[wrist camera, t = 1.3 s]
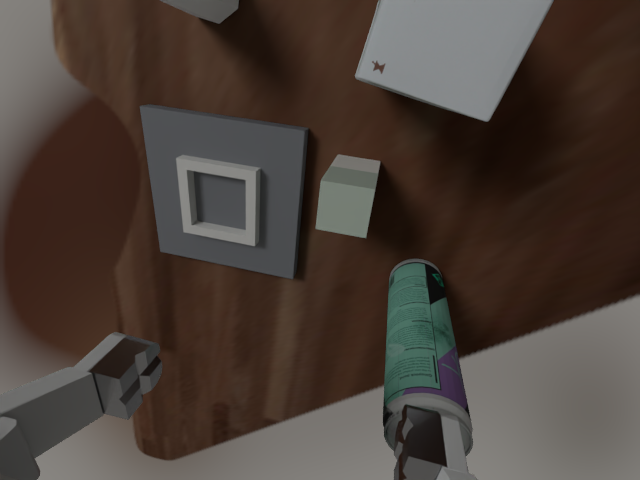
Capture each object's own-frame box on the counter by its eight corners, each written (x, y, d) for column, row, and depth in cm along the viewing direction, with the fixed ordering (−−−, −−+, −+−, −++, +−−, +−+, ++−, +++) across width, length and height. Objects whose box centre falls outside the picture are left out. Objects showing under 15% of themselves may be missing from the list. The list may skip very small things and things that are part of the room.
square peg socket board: (149, 104, 33) (131, 107, 31) (308, 128, 31) (301, 133, 29) (168, 245, 41) (154, 256, 39) (296, 271, 39) (289, 285, 37)
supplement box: (452, 103, 28) (487, 130, 17) (368, 72, 28) (348, 79, 17) (503, -2, 24) (589, -54, 13) (405, -37, 25) (411, -116, 14)
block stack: (337, 154, 32) (320, 180, 25) (380, 161, 31) (375, 189, 24) (332, 194, 34) (315, 228, 27) (372, 201, 33) (365, 238, 26)
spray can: (397, 305, 38) (395, 507, 21) (383, 264, 36) (368, 451, 19) (447, 296, 36) (491, 510, 19) (435, 253, 34) (472, 448, 17)
